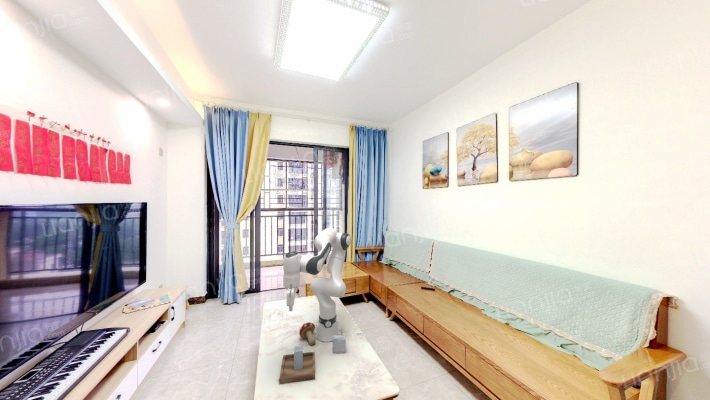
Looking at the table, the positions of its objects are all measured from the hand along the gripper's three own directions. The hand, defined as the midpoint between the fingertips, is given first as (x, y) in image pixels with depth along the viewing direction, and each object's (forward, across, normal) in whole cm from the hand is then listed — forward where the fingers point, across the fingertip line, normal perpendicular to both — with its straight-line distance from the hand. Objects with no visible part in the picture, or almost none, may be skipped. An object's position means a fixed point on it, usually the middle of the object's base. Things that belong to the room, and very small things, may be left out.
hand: (291, 306), depth 129 cm
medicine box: (+34, +9, -28) cm, 45 cm away
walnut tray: (+34, -2, -4) cm, 34 cm away
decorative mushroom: (+34, +23, -9) cm, 42 cm away
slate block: (+33, -2, -4) cm, 33 cm away
